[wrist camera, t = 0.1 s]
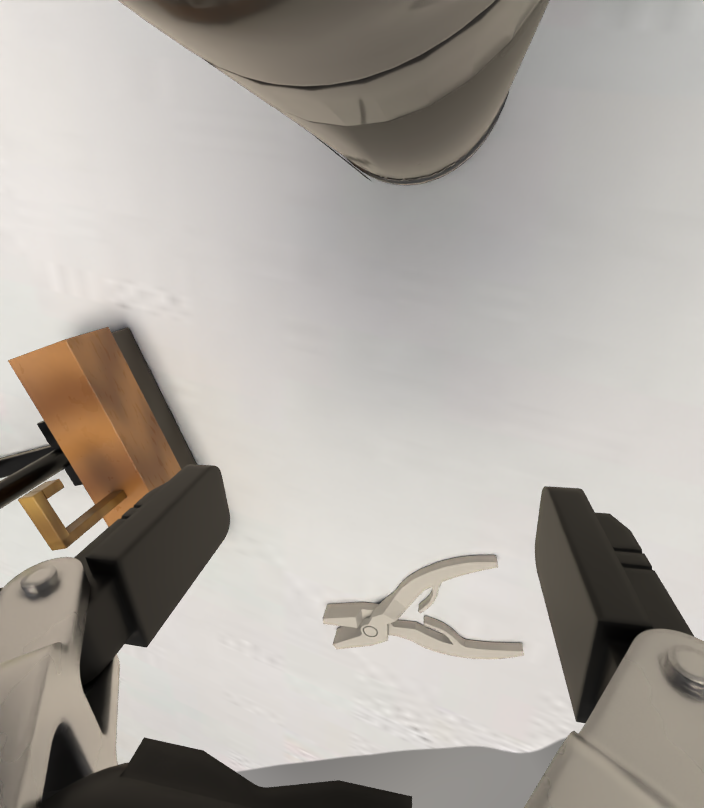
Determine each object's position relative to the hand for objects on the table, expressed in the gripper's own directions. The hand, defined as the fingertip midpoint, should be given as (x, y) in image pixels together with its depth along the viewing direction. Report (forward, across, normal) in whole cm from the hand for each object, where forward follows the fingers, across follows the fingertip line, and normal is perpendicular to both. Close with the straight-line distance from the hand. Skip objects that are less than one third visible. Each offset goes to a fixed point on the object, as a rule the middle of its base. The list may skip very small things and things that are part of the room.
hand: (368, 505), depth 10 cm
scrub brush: (+17, +20, +8) cm, 28 cm away
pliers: (+17, 0, +23) cm, 29 cm away
